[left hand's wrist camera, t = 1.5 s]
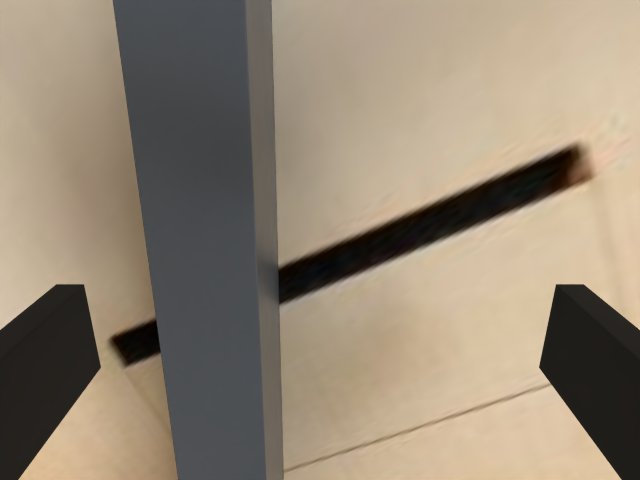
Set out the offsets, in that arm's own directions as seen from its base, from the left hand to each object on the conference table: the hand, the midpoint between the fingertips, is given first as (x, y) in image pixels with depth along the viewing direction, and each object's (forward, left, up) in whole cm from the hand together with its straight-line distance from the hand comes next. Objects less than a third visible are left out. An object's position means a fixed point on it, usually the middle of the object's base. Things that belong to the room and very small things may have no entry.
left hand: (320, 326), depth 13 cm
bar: (+23, 0, -15) cm, 27 cm away
